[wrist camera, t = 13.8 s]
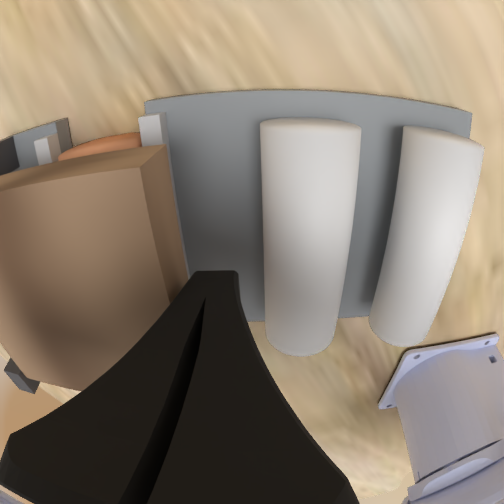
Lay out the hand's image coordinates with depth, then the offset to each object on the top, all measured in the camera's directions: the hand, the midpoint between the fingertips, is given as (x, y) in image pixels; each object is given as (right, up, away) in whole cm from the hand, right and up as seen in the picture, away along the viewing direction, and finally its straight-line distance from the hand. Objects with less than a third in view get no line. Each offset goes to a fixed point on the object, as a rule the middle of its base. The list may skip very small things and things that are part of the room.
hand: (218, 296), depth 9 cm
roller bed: (-1, +3, +5) cm, 5 cm away
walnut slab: (-6, 0, +1) cm, 6 cm away
